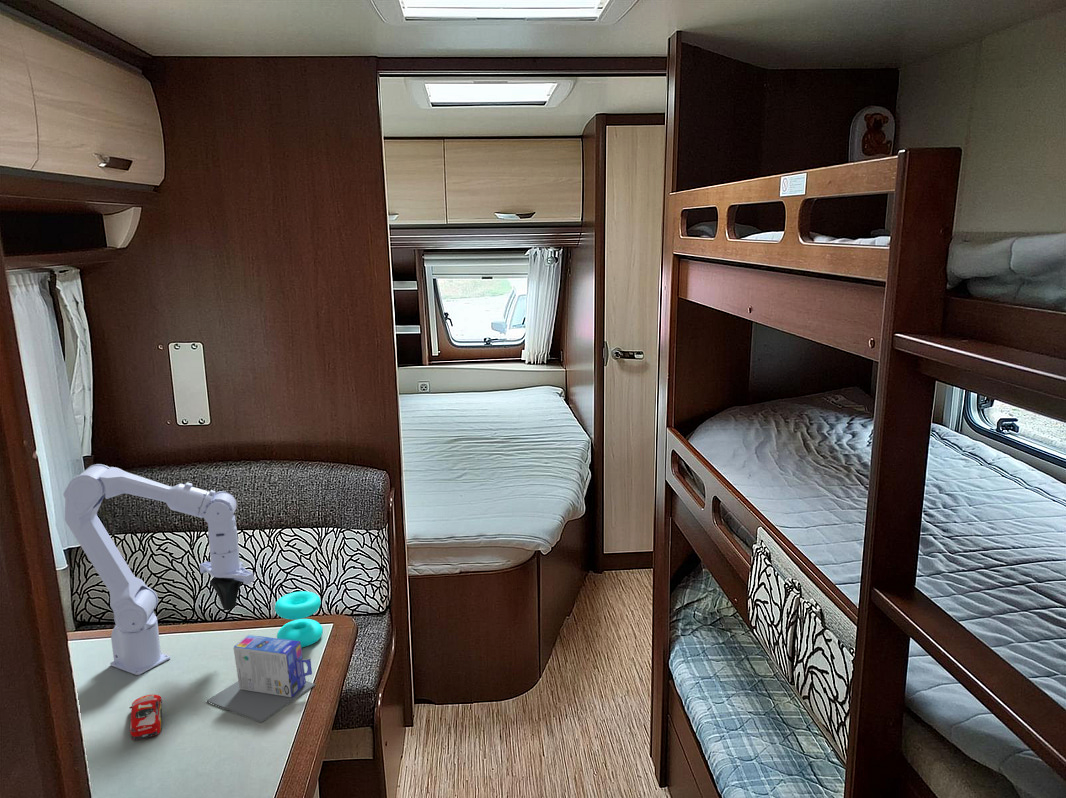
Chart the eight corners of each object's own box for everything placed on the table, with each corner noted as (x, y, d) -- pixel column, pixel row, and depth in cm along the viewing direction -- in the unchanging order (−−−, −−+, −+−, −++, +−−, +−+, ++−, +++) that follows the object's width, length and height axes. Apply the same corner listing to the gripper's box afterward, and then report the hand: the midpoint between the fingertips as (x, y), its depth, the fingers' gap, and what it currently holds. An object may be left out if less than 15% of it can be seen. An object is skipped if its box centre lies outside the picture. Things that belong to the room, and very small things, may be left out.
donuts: (311, 608, 164) (266, 608, 165) (314, 651, 166) (270, 650, 167) (326, 589, 174) (284, 588, 175) (329, 629, 176) (287, 628, 176)
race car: (133, 708, 146) (130, 689, 145) (164, 701, 148) (161, 682, 147) (128, 746, 134) (125, 726, 133) (161, 738, 136) (159, 718, 135)
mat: (206, 702, 147) (206, 700, 147) (262, 668, 159) (262, 666, 159) (261, 722, 140) (261, 720, 140) (315, 685, 152) (315, 683, 152)
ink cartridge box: (256, 674, 155) (317, 685, 151) (238, 690, 150) (301, 702, 146) (249, 632, 153) (312, 641, 149) (232, 647, 148) (295, 657, 144)
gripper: (262, 548, 162) (267, 607, 164) (216, 538, 168) (221, 594, 171) (236, 559, 156) (241, 621, 158) (189, 548, 162) (195, 607, 165)
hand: (229, 608), depth 164 cm, fingers closed
